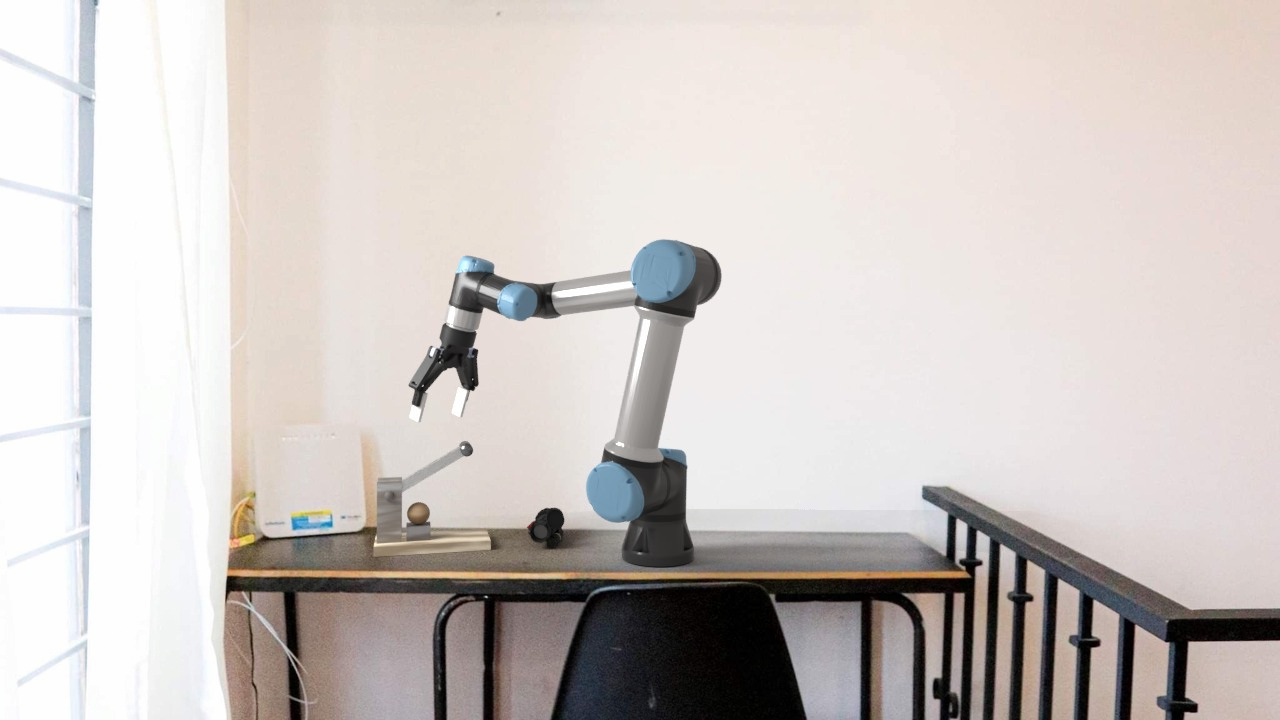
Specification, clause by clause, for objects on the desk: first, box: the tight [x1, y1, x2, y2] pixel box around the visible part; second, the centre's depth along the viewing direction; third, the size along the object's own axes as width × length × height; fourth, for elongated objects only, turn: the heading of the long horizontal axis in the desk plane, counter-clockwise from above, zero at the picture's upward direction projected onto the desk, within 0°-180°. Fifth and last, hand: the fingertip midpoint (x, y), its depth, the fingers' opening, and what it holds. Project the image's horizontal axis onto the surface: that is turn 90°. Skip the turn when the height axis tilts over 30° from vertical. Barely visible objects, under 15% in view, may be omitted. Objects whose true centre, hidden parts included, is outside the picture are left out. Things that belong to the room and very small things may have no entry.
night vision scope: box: [526, 507, 565, 549], centre depth 181 cm, size 8×18×10 cm
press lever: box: [401, 440, 474, 493], centre depth 175 cm, size 7×21×3 cm, turn 106°
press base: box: [372, 476, 492, 558], centre depth 175 cm, size 12×24×15 cm, turn 106°
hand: (436, 417), depth 178 cm, fingers open, 13 cm apart
